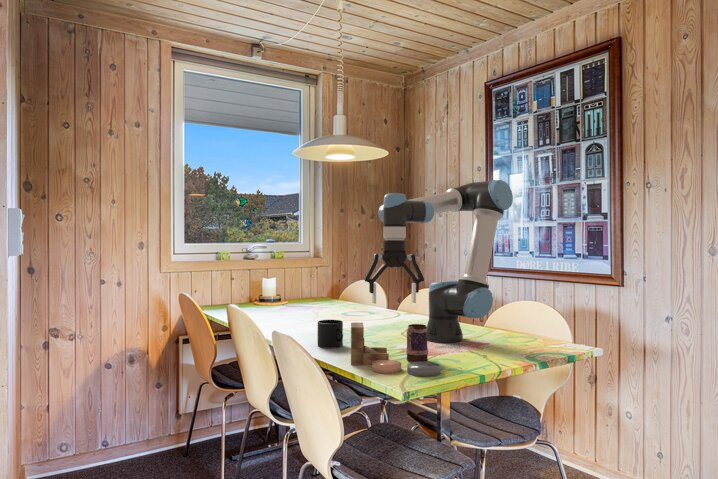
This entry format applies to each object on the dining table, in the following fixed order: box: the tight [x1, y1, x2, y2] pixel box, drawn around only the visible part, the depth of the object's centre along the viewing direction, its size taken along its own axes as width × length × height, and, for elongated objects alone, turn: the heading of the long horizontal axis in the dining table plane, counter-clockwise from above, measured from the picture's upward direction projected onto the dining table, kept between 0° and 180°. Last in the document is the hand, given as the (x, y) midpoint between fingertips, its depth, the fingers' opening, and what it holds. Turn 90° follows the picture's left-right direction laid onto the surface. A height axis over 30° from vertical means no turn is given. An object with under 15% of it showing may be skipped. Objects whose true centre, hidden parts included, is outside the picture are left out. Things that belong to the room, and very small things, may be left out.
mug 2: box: [406, 323, 429, 363], centre depth 164 cm, size 10×7×12 cm
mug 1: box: [317, 319, 344, 349], centre depth 187 cm, size 9×12×9 cm
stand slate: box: [406, 361, 441, 378], centre depth 151 cm, size 10×10×2 cm
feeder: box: [350, 322, 390, 366], centre depth 164 cm, size 12×9×12 cm
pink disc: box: [371, 359, 402, 375], centre depth 154 cm, size 9×9×2 cm
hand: (394, 302), depth 168 cm, fingers open, 13 cm apart
